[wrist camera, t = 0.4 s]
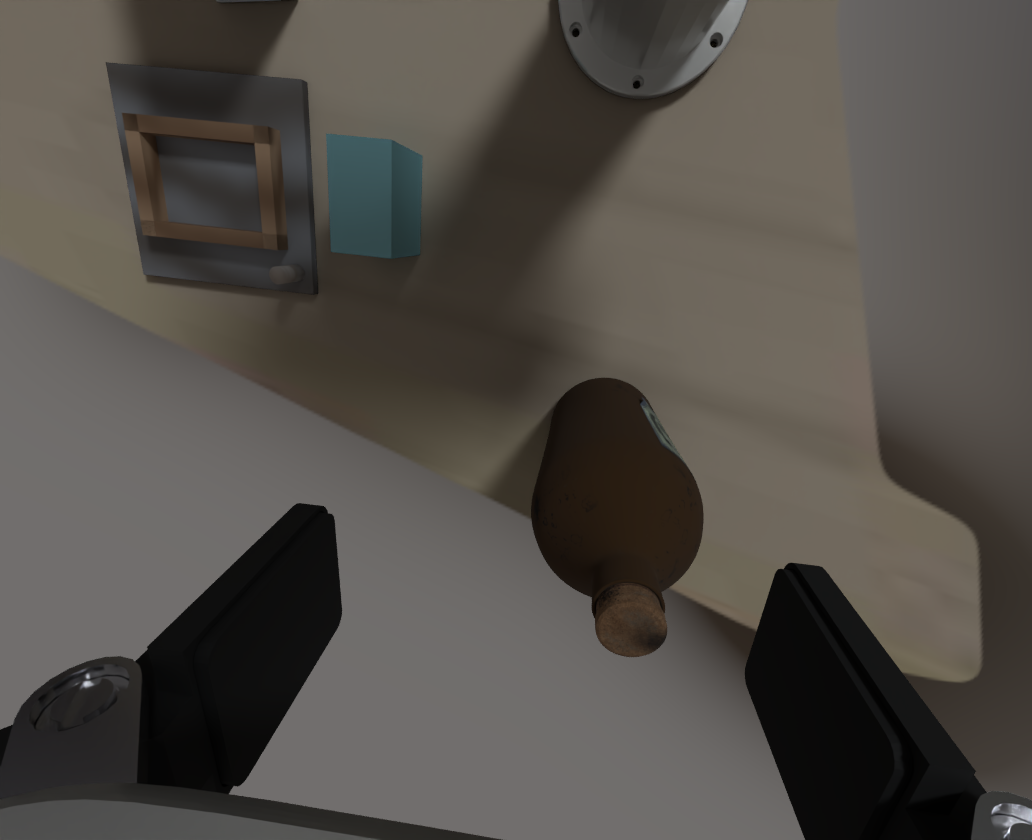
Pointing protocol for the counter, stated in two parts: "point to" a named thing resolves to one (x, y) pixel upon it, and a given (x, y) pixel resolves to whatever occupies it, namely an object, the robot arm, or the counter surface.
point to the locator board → (218, 175)
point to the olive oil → (616, 511)
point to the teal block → (374, 197)
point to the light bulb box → (242, 0)
